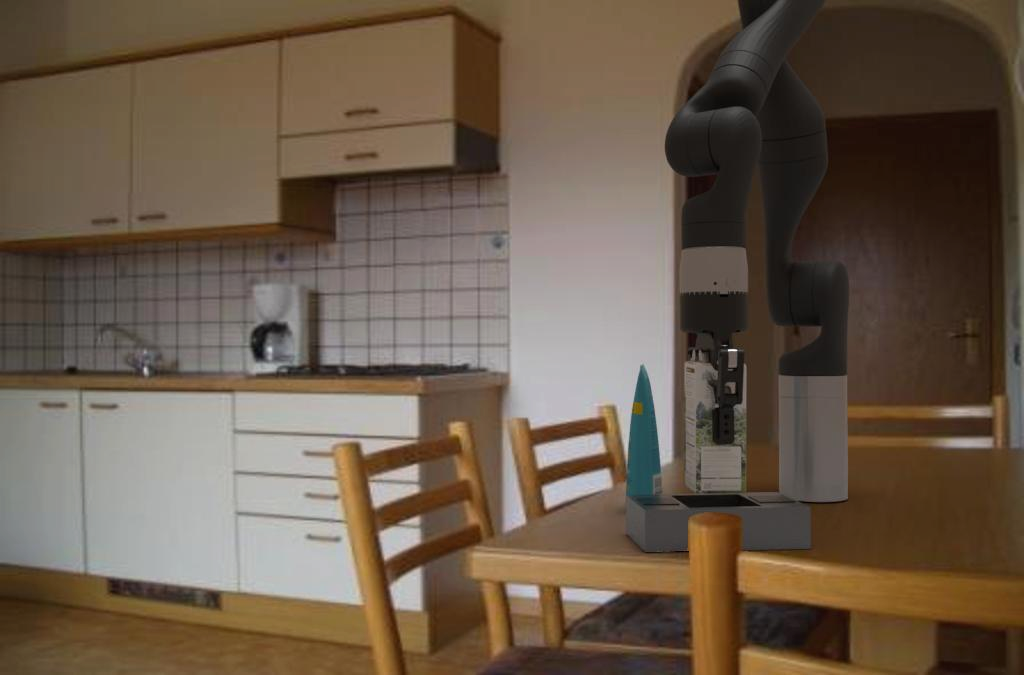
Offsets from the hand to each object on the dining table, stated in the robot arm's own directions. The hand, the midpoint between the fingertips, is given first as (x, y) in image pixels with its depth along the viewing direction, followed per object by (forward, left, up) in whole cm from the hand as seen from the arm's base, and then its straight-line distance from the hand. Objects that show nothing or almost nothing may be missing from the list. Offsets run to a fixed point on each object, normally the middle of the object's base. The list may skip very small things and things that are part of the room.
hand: (714, 440), depth 109 cm
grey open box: (0, 0, -11) cm, 11 cm away
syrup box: (0, 0, -6) cm, 6 cm away
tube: (-18, -4, -11) cm, 22 cm away
